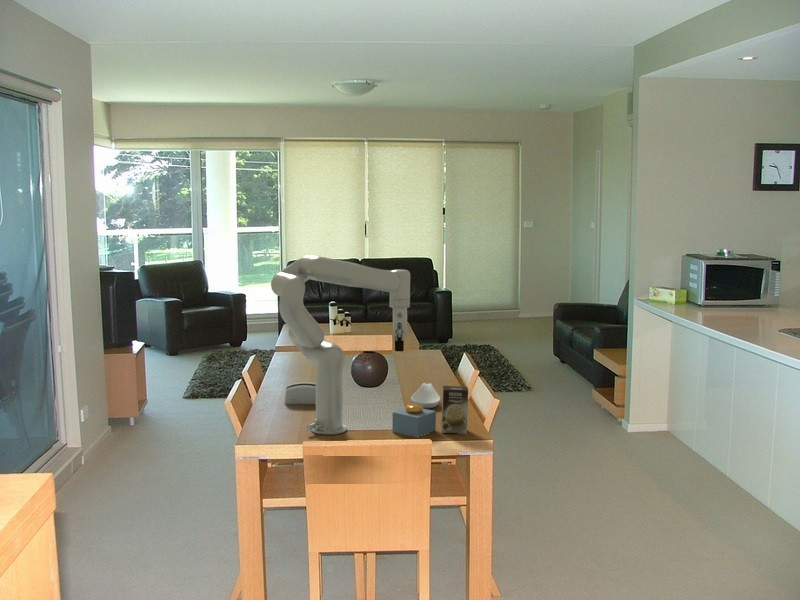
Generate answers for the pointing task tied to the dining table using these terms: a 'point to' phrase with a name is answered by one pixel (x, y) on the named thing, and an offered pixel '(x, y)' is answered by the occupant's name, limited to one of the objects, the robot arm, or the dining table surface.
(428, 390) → the spoon rest
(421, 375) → the dining table surface
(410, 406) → the pin
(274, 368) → the dining table surface
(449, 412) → the coffee box
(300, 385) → the grey slotted block
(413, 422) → the hitch block
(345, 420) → the dining table surface
